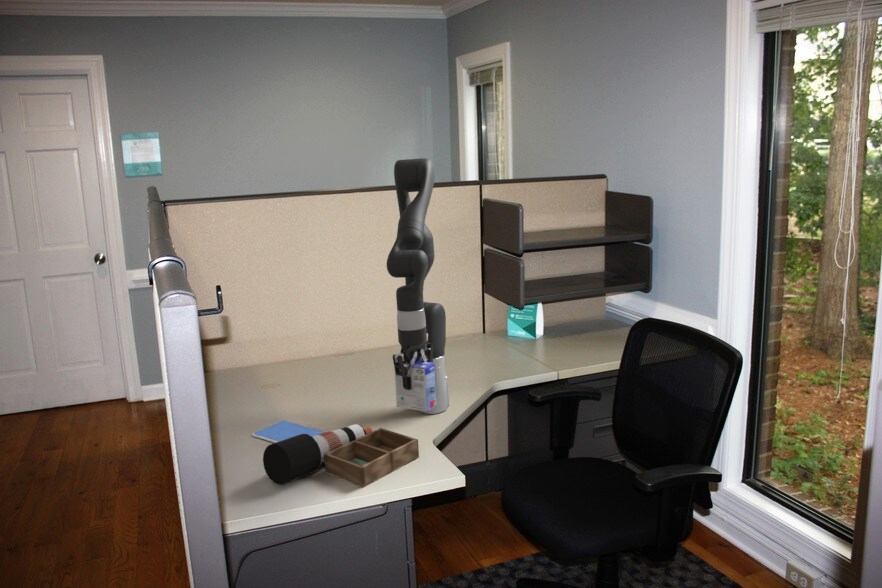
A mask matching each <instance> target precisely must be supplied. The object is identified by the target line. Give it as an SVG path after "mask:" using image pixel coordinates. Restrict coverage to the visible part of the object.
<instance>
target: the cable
mask: <svg viewBox="0 0 882 588" xmlns="http://www.w3.org/2000/svg"><path fill="white" fill-rule="evenodd" d="M371 432H373V428H372V427H370V426H368V427H364V428H363V427H361V425H359V424H357V423H356V424H355V423H354V424H351V425H349V426H345V427H341V428H338V429H334V430H330V431H329V430H328V431H325V433H322V434H319V435H316V436H313V437H312V436H310V435H308V434H300V435H297V436H294V437H291V438H288V439H285V440H282V441H279V442H276V443H273V442H272V443H271V444H269V445H267V446H266V447H265V449H264V451H263V456H262V463H263V469H264V471H265V473H266V475H267V477H268V478H269V480H271V482H273V483H274V484H277V485H285V484H288V483H290V482H292V481H295V480H298V479H300V478H303V477H305V476H308V475H310V474H313V473H315V472H316V471H318V470H319V468H320V466H321V464H322V463H323V464H325V458H324V454H326V453H328V452H330V451H332V450H334V449H336V448H339V447H341V446H343V445H345V444H347V443H349V442H351V441H354V440H356V439H358V438H360V437H362V436H364V435H366V434H369V433H371Z"/></svg>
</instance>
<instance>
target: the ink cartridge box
mask: <svg viewBox="0 0 882 588" xmlns="http://www.w3.org/2000/svg"><path fill="white" fill-rule="evenodd" d="M421 359H422V357H421V356H420V359H419V361H418V362H416V363H414V367H413V369H412V370H411V374H410V376H411V386H412V389H411V390H406V389H404V387H403V380H402V376H398V375H396V372H395V371H394V381H395V398H396V400H395V402H396V408H399V409H400V408H402V409H408V410H414V411H418V410H419V411H425V412H427V411H429V410H430V409H432V408H434V407H435V406H437V404H436V387H435V370H434V363H430V362H421ZM406 364H407V365H409V364H410V363H407V362H406ZM393 367H394V366H393ZM393 370H395V367H394V369H393ZM405 372H407V367H406V371H405ZM419 411H418V412H419Z"/></svg>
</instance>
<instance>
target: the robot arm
mask: <svg viewBox="0 0 882 588" xmlns="http://www.w3.org/2000/svg"><path fill="white" fill-rule="evenodd" d="M434 169H435V168H434V165H433V162H432V160H431V159H430V158H425V157H424V158H423V157H422V158H421V157H420V158H411V159H410V158H409V159H408V158H407V159H398V160H396V161H395V163H394V166H393V177H394V184H395V185H394V186H395V192H396V198H397V204H398V211H399V212H398V213H399V219H398V223H397V232H396V237H395V241H394V244H393V245H392V247H391V249H390V252H389V253H388V256H387V259H386V270H387V272H388V274H389V275H390V276H391V277H392V278H396V279H397V278H398V279H399V278H404V280H405V284H404V285H402V286H399V287H398V288H396V291H395V297H396V298H395V299H396V300H395V301H396V311H397V312H396V324H397V325H396V327H397V339H398V340H397V342H398V343H399V345H400V347H401V349H400V352H399V353H398V354H392V360H393V361H392V363H393V365H394V366H393V367H395V369H394V373H395V372H396V375H398V376H402V380H403V387H404V389H406V390H411V389H412V386H411V376H410V374H411V370H412V369H413V367H414V363H416V362H418V361H419V359H420V356H421V357H422V359H421V362H430V363H434V370H435V387H436V404H437V406H435V407H434V408H432V409H430V410H429V411H427V412H425V411H419V410H417V412H419V413H421V414H426V415H435V414H440V413H443V412H445V411H447V409H448V407H450V397H449V396H450V395H449V394H450V393H449V378H448V376H447V374H446V354H445V352H446V351H445V350H446V349H445V348H446V342H447V337H446V335H447V333H446V332H447V330H446V328H447V325H446V324H447V319H446V318H447V316H446V310H445V308H444V306H443V305H442V304H441V303H438V302H428V301H424V284H425V280H426V278H427V276H428V274H429V272H430V271H431V269H432V267H433V264H434V262H435V245H434V236H433V233H432V232H431V230H430V229H429V226H427V225H426V223H425V222H426V216H427V212H428V209H429V207H430V201H431V197H432V193H433V190H434V186H435V170H434ZM415 192H417V194H416V195H415V197H414V198H413V200H411V197H410V193H415ZM406 362H407V363H410V364H409V365H407V364H406ZM406 367H407V372H405V371H406Z"/></svg>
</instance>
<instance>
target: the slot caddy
mask: <svg viewBox="0 0 882 588" xmlns="http://www.w3.org/2000/svg"><path fill="white" fill-rule="evenodd" d="M419 448H420V446H419V438H415V437H412V436H411V437H410V436H407V435H405V434H402V433H398V432H396V431H391V430H389V429H386V428H383V427H382V428H381V427H380V428H377V429H376V430H372V432H371V433H369V434H366V435H364V436H362V437H360V438H358V439H356V440H354V441H351V442H349V443H347V444H345V445H343V446H341V447H339V448H336V449H334V450H332V451H330V452H328V453H326V454H324V458H325V462H324V467H325V473H326V474H328V475H329V476H333V477H335V478H336V477H337V478H338V479H341V480H343V481H345V482H346V481H347V482H349V483H351V484H353V485H357V486H359V487H362V488H365V487H367V486H369V485H370V484H373V483H375V482H376V481H378V480H379V479H382V478H384V477H386V476H388V475H389V474H391V473H393V472H395V471H397V470H399V469H400V468H402V467H405V466H406V465H408V464H409V463H412V462H413V461H415V460H417V459H419V458H420V451H419V450H420V449H419Z"/></svg>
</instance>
